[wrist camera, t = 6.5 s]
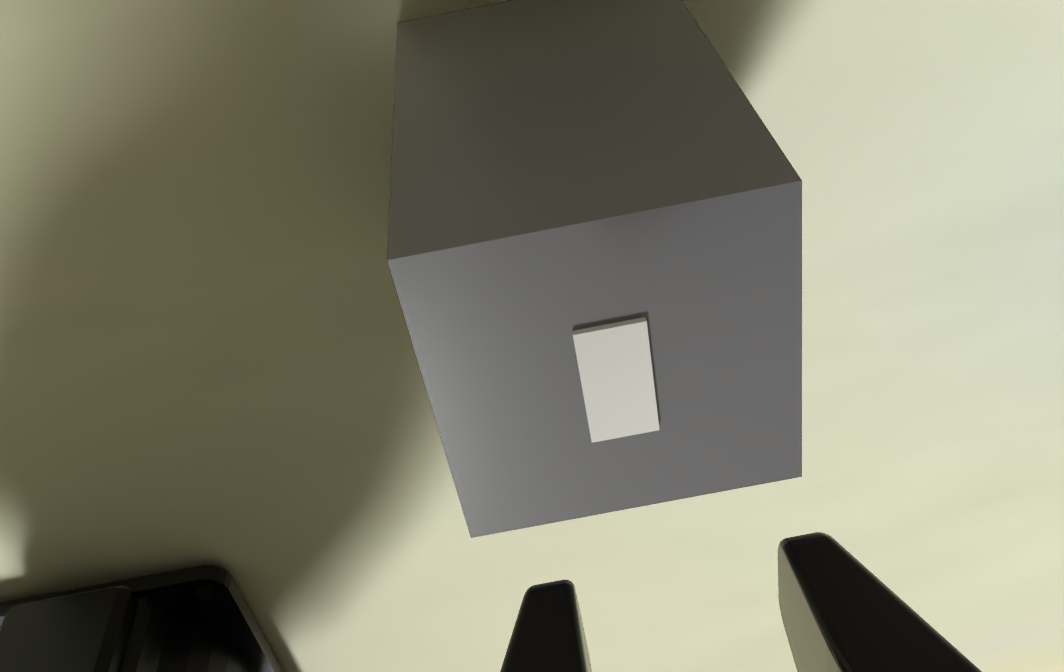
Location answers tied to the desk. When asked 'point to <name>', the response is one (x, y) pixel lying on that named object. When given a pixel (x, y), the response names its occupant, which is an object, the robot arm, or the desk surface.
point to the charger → (593, 259)
